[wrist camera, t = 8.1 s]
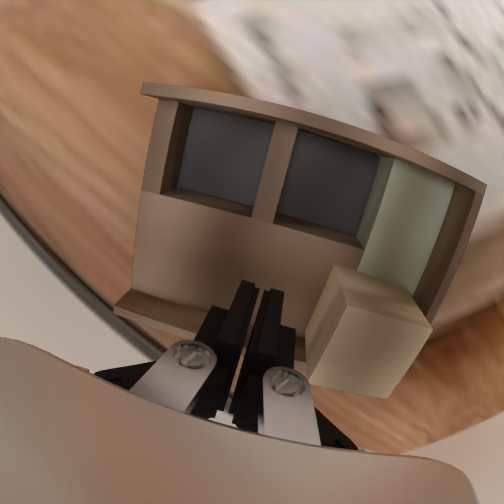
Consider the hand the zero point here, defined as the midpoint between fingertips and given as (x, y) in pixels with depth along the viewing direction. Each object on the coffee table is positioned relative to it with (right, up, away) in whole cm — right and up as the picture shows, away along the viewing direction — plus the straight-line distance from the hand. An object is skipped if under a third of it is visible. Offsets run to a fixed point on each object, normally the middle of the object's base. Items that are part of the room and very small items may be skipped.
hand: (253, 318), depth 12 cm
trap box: (+2, +4, +5) cm, 6 cm away
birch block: (+5, 0, +3) cm, 6 cm away
